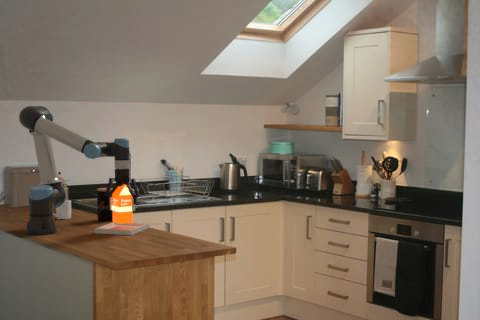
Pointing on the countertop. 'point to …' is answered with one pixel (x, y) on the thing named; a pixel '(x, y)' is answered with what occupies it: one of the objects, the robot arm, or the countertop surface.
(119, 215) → the orange juice
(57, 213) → the mug
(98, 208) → the coffee jar
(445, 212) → the countertop surface
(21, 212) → the countertop surface
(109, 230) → the tray
